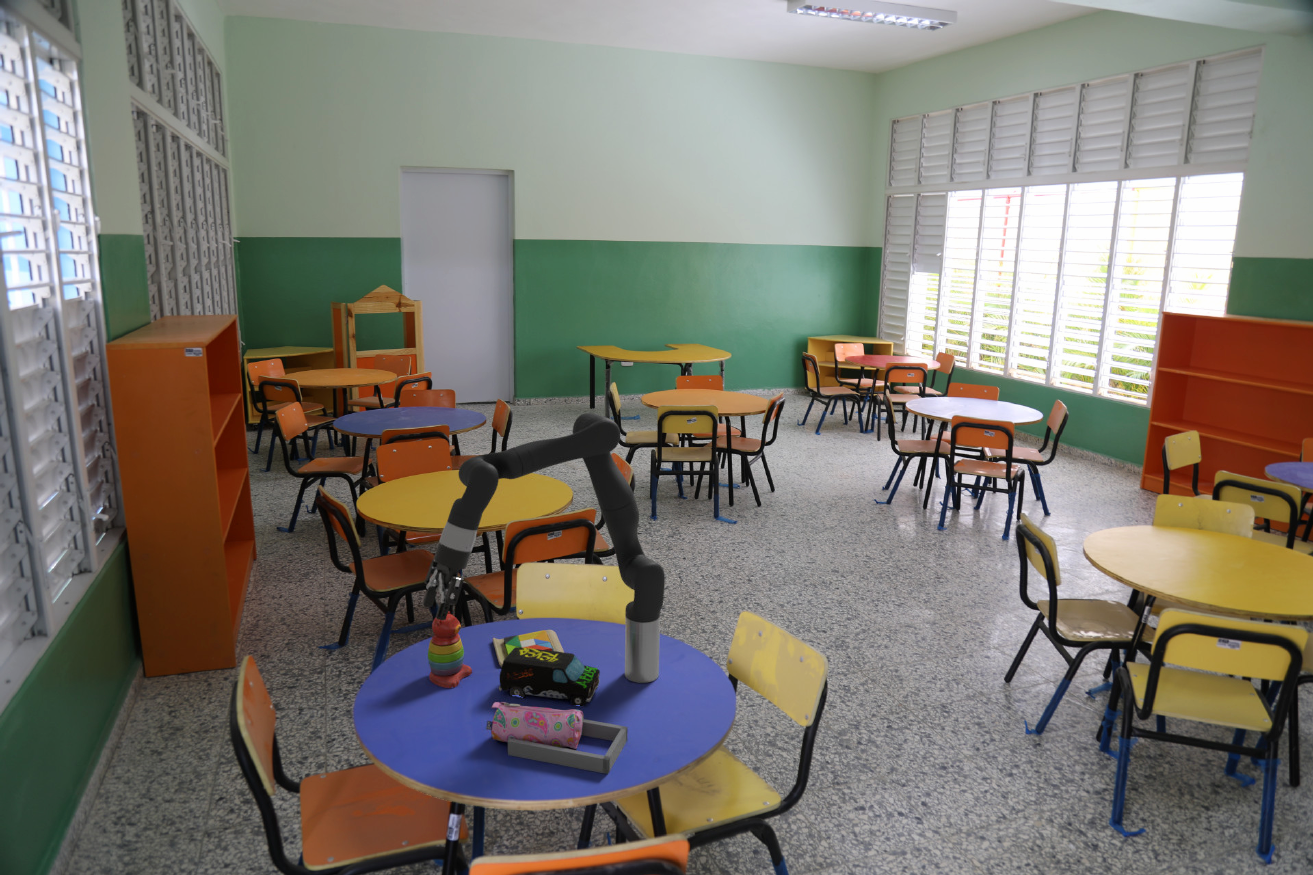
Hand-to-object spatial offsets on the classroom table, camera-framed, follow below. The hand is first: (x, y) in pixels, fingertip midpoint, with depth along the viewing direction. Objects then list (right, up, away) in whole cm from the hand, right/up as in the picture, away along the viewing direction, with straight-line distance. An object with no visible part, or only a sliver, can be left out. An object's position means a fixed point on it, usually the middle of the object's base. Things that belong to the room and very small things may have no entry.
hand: (433, 612), depth 192 cm
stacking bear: (-5, -25, +35) cm, 43 cm away
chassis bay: (+30, -32, +4) cm, 44 cm away
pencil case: (+22, -32, +6) cm, 39 cm away
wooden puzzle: (+14, -22, +51) cm, 57 cm away
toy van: (+23, -27, +28) cm, 45 cm away
